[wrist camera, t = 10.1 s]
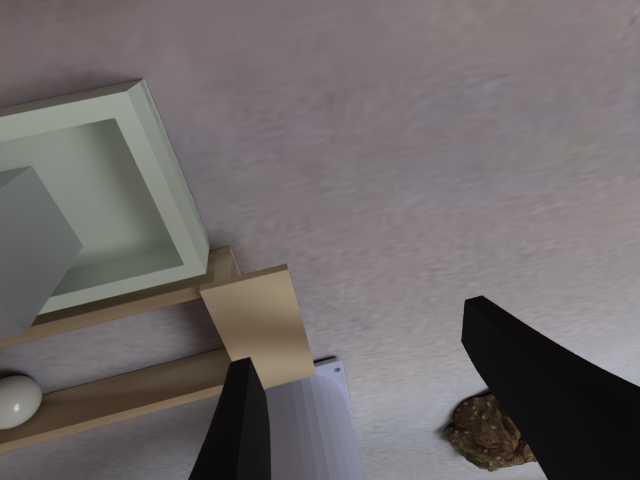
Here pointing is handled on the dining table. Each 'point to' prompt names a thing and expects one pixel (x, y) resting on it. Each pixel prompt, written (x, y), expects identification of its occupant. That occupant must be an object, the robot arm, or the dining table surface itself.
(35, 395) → the grey ball
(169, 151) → the green tub
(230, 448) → the robot arm
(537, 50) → the dining table surface
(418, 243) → the dining table surface
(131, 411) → the birch crate
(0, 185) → the stone block
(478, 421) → the brown rock
